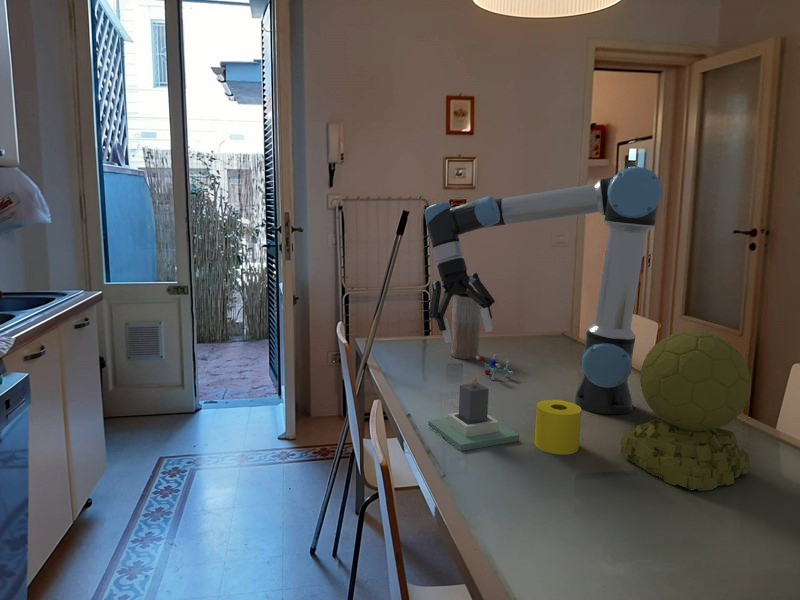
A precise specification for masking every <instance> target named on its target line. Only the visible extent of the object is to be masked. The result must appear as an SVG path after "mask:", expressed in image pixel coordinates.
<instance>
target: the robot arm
mask: <svg viewBox="0 0 800 600" xmlns="http://www.w3.org/2000/svg"><path fill="white" fill-rule="evenodd" d="M662 185H663V184H662V183H661V180H660V178H659V177H658V176H657V174H656V173H655V172H653V171H652V170H650V169H648V168H646V167H641V166H636V167H635V166H631V167H626V168H624V169H621V171H619V172H617V173H616V174H615V175H614V176H611V177H606V178H601V179H598V180H597V182H596V183H593V184H587V185H586V184H585V185H581V186H573V187H566V188H561V189H560V188H559V189H553V190H547V191H541V192H535V193H526V194H521V195H516V196H510V197H509V196H508V197H502V198H494V197H493V196H492V195H491V196H489V195H488V196H485V197H480V198H477V199H475V200H472V201H469V202H467V203H464V204H461V205H458V206H453V207H452V205H451V204H450V203H449V201H448V202H446V201H444V202H439V203H435V204H432V205H430V206H428V207H426V208H425V209H424V218H425V224H426V228H427V232H428V235H429V238H430V242H431V246H432V250H433V254H434V257H435V261H436V263H438V264H437V271H438V273H439V274H438V275H439V277H440V279H441V281H440V280H436V281H433V282H432V283H431V288H432V292H431V293H432V294H431V300H430V301H431V302H430V305H429V306H430V307H429V311H428V318H429V319H434V320H435V321H436V324H437V325H438V330H439V332H442V336H443V339H444V340H443V341H444V343H445V344H449V343H451V342H453V340H452V331H451V329H450V324H449V322H448V321H449V320H448V318H447V317H444V316H445V314H446V312H447V309H448V307H449V304H450V301H451V299H452V298H453V295H455V294H460V293H465V294H467V295H468V296H470V297H471V298H472V299H473V300H474V301H475V302H476V303H478V304H479V305H480V306H481V309H480V317H481V319H482V323H483V327H484V331H485V333H489V332H493V331H494V326H493V322H492V318H493V315H492V310H491V307H492V305H493V304H495V302H496V301H495V298H494V297H493V296H492V294H491V293H490V291H489V290H487V288H486V286H485V285H484V284H483V282H482V281H481V280H480V277H479V274H478V272H475V273H471V274H470V275H469V274H468V273H467V270H468V268H467V264H466V261H465V258H464V257H463V256H464V252H463V248H462V246H461V241H460V237H459V236H460V235H464V234H466V233H470V232H473V231H477V230H480V229H486V228H487V229H488V228H493V227H499V226H500V227H501V226H505V225H507V226H508V225H512V224H513V225H514V224H521V223H529V222H535V221H536V222H537V221H543V220H544V221H545V220H553V219H559V218H565V217H566V218H567V217H575V216H581V215H589V214H596V213H597V214H600V215H602V216H604V224H605V225H606V226H607V227H608V236H607V243H606V250H605V257H604V263H603V267H602V275H601V279H600V280H601V282H600V286H599V294H598V301H597V307H596V313H595V318H594V323H593V324H589V325H588V326H587V327H586V328H587V329H586V332H585V335H586V336H585V342H584V349H583V354H582V357H581V362H580V364H581V366H580V367H581V369H582V372H583V376H582V380H581V382H580V383H579V385H578V387H577V391H576V394H575V400H574V404H576V405H578V406H579V407H581V410H582V409H583V410H585V411H588V412H591V413H597V414H600V415H601V414H602V415H611V416H612V415H615V416H616V415H624V414H627V413H630V412H631V411H633V399H632V394H631V391H630V386H629V383H628V379H629V376H630V375H631V373H632V371H633V361H632V360H633V354H634V349H635V341H636V335H637V334H635V333H634V331H633V330H632V322H633V315H634V310H635V305H636V304H635V303H636V297H637V291H638V286H639V282H640V281H639V280H640V275H641V274H640V273H641V269H642V262H643V256H644V251H645V244H646V239H647V233H648V232H649V231H651V230H652V229H653V228H655V225H656V220H657V216H658V215H657V214H658V209H659V208H658V207H659V204H660V202H661V200H662V196H663V186H662ZM470 283H471V284H470ZM442 288H443V289H444V292H443V294H442ZM441 294H442V298H441Z"/></svg>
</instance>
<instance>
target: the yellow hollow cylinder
mask: <svg viewBox="0 0 800 600" xmlns="http://www.w3.org/2000/svg"><path fill="white" fill-rule="evenodd" d="M535 416H536V417H535V430H534V441H533V442H534V443H533V444H534V446H535V447H536V448H537V449H539V450H541V451H543V452H545V453H549V454H552V455H572V454H575V453H577V452H578V451H579V447H580V436H581V435H580V433H581V423H582V421H581V420H582V408H581V407H579V406H578V405H576V403H575V402H574V403H573V402H571V401H567V400H561V399H545V400H542V401H539V402H537V403H536V413H535Z"/></svg>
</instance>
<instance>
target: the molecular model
mask: <svg viewBox="0 0 800 600" xmlns="http://www.w3.org/2000/svg"><path fill="white" fill-rule="evenodd" d="M497 358H498V354H496V353H495V354H493V360H491V362H490V364H487V363H486V361H485V357H484V356H479V355H478V356H476V358H475V359H476V360H479V361H480V362H482V363H483V365H484V368H485V371H484V373H485V374H486V375H490V373H491V372H492V376H491V377H490V380H491V381H495V380H496V378H495V376H496V374H497V373H498V372H503V373H504V377H505V378H509V377H510V376H509V375H511V376H513V375H514V371H513V370H510V369H509V365H510V363H511V362H510V360H506V362H505V365H506V366H505V367H504V368H503V369H498V368H501V364H500V363H497V361H496V359H497ZM491 366H492V367H491ZM490 370H491V371H490Z"/></svg>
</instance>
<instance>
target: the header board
mask: <svg viewBox="0 0 800 600" xmlns="http://www.w3.org/2000/svg"><path fill="white" fill-rule="evenodd" d="M427 425H428V426H430V427H431V428H432V429H433V430H435V431H436V432H437V433H439V434H440V435H441V436H442V437H441V436H440V435H439V434H438V435H439V436H440V437H441V438H443V437H444V438H445V439H446V440H447V441H446V440H445V439H444V438H443V439H444V440H445V441H446V442H448V441H449V442H450V443H451V444H450V443H449V442H448V443H449V444H450V445H452V446H453V445H454V446H455V449H457V450H458V451H459V450H460V451H459V452H463V450H464V451H469V450H474V449H480V448H485V447H486V448H487V447H492V446H496V445H503V444H508V443H514V442H519V441H520V434H518V433H517V432H515V431H513V430H512V429H510V427H508V426H506V425H504V424H502V423H501V422H499V421H498V420H497V419H496V418H494V417H492V416H491V415H489V414H487V422H482V423H476V424H470V425H468V424H466V423H465V422H463V421H462V420H460V419H459V411H458V412H453V413H452V412H451V413H447V417H444V418H443V417H442V418H438V419H431V420H428V422H427ZM430 427H429V428H430ZM431 428H430V429H431ZM432 429H431V430H432ZM433 430H432V431H433ZM435 431H434V432H435ZM436 432H435V433H436ZM437 433H436V434H437ZM454 446H453V447H454Z"/></svg>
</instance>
